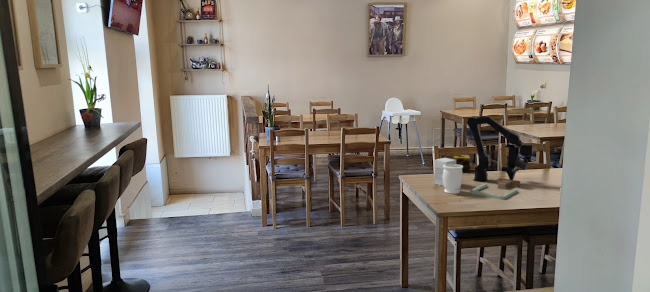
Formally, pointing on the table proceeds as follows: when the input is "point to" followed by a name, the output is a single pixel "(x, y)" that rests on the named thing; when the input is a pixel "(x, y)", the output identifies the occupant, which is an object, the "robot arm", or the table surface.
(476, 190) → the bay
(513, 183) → the t block
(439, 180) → the supplement box
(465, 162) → the yellow and brown box
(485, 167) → the robot arm
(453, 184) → the jar
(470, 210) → the table surface
